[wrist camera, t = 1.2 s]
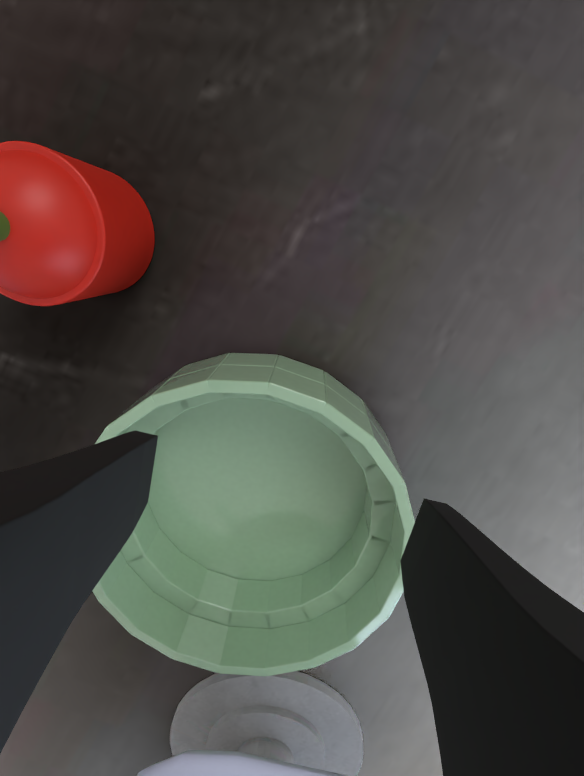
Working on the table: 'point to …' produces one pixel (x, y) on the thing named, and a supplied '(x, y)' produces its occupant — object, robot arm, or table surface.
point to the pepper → (67, 228)
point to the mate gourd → (271, 721)
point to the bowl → (259, 519)
